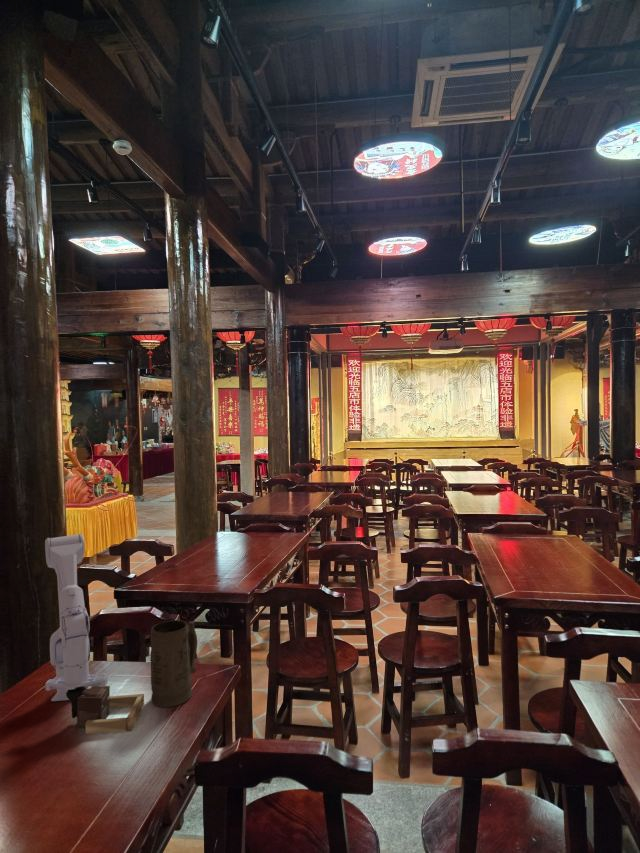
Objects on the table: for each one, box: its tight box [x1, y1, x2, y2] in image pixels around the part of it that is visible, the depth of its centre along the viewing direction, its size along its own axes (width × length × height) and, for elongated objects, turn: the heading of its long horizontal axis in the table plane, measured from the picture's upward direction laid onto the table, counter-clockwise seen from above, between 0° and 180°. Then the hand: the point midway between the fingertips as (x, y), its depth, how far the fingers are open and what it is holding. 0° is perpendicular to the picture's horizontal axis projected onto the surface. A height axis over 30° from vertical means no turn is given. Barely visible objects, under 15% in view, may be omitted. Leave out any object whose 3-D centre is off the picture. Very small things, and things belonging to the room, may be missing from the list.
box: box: [76, 685, 111, 727], centre depth 134 cm, size 6×6×7 cm
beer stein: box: [149, 619, 198, 708], centre depth 146 cm, size 15×11×20 cm
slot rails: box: [84, 693, 145, 735], centre depth 134 cm, size 12×11×3 cm
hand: (77, 715), depth 133 cm, fingers closed, pressing on box
